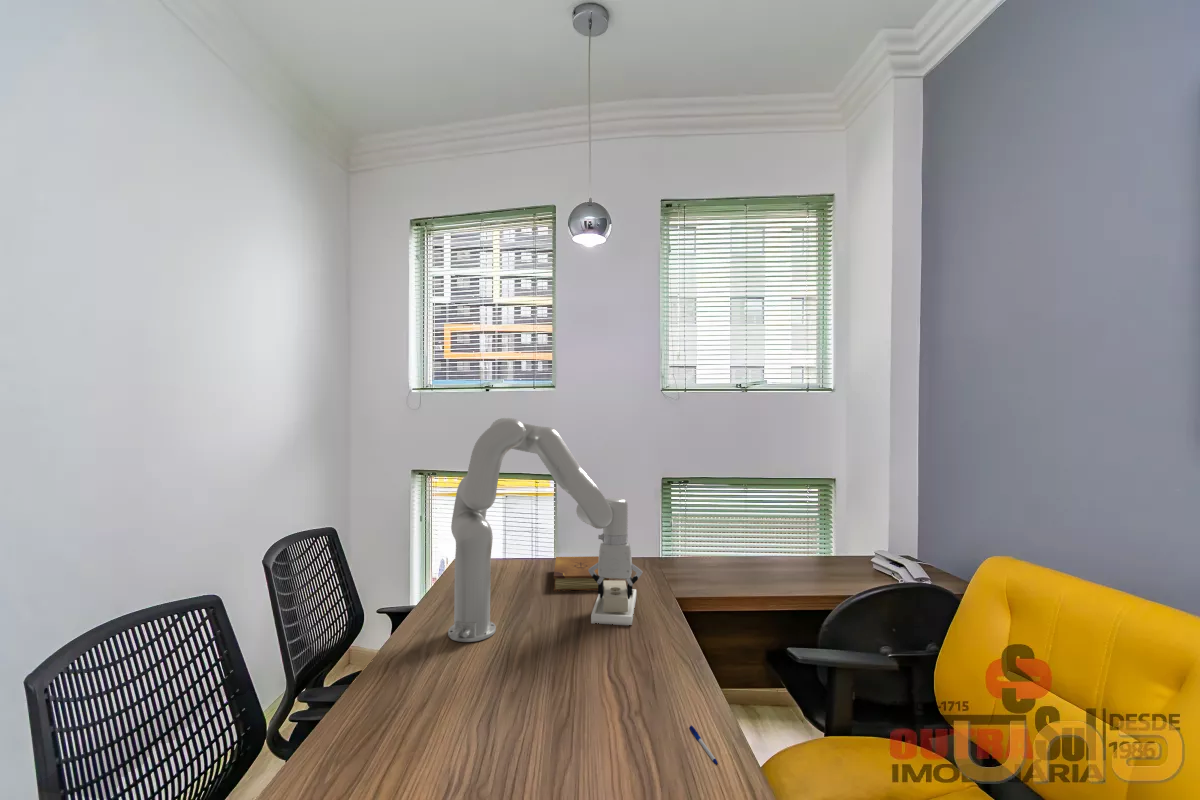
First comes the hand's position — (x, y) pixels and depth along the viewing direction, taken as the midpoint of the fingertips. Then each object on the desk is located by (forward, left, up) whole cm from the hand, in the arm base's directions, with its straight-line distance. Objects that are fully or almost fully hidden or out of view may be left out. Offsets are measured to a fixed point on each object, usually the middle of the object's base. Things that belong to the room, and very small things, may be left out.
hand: (615, 596), depth 156 cm
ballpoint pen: (-61, -22, -4) cm, 65 cm away
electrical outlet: (+1, 0, -2) cm, 2 cm away
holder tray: (0, 0, -4) cm, 4 cm away
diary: (+26, +15, -5) cm, 30 cm away
